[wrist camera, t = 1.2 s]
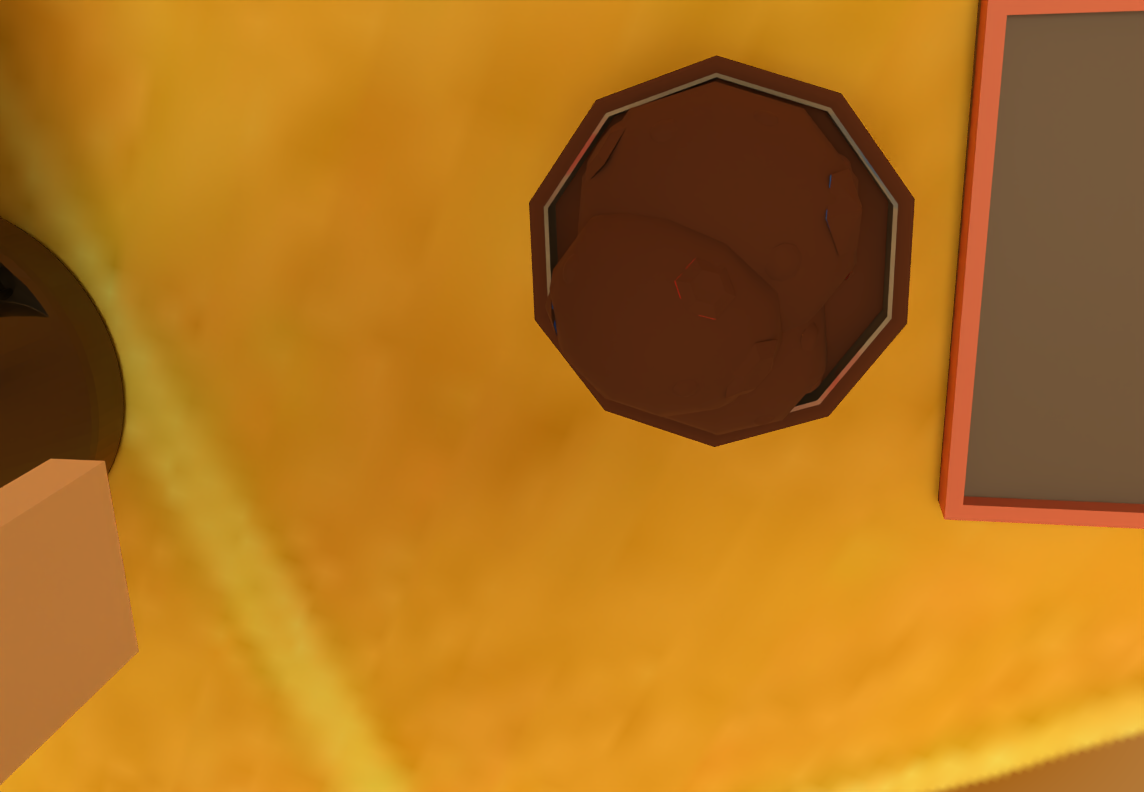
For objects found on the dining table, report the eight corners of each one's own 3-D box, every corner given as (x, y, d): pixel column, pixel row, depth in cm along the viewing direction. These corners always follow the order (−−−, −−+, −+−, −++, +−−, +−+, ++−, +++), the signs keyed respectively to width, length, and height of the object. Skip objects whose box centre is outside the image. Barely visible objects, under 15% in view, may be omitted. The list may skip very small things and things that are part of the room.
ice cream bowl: (827, 390, 41) (849, 576, 27) (547, 298, 42) (429, 433, 28) (936, 111, 37) (1027, 161, 23) (626, 17, 38) (535, 10, 24)
